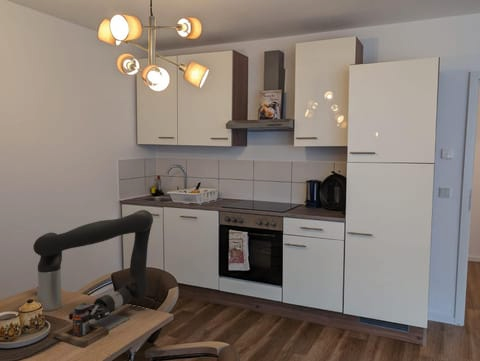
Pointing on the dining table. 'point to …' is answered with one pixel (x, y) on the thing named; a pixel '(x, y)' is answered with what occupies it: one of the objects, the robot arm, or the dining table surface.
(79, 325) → the supplement bottle
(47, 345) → the dining table surface
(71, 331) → the walnut collar
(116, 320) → the charcoal mat
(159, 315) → the dining table surface
